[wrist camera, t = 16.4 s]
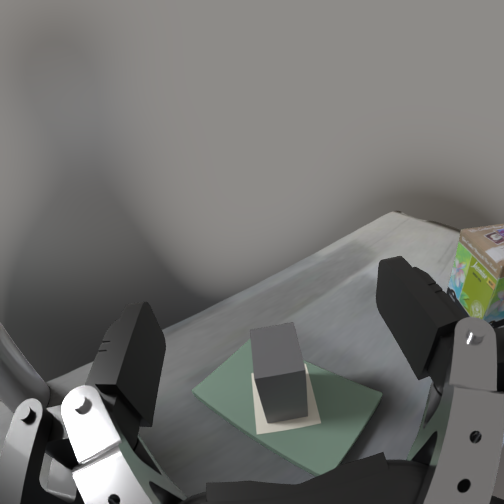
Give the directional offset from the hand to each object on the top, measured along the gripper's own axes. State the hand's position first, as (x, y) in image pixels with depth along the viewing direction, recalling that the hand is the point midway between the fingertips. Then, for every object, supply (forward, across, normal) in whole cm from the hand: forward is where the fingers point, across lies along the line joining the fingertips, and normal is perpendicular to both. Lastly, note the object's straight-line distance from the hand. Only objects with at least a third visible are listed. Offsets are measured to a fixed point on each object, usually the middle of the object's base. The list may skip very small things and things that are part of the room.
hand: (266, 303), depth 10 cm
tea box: (+14, -34, +25) cm, 45 cm away
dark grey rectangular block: (+11, 0, +23) cm, 26 cm away
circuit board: (+11, 0, +25) cm, 27 cm away
